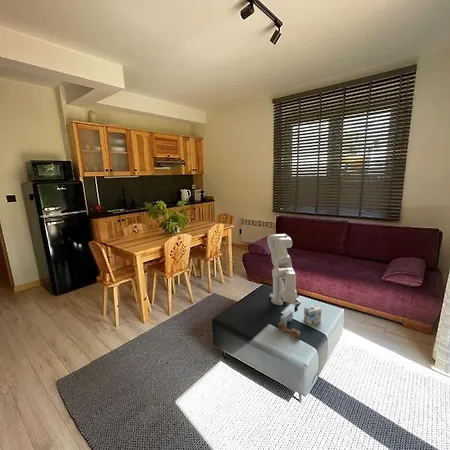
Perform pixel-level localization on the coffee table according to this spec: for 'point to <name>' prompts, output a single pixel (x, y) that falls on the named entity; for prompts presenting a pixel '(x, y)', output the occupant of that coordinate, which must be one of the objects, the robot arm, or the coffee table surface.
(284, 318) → the bar
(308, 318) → the light bulb box
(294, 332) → the rail
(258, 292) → the coffee table surface
